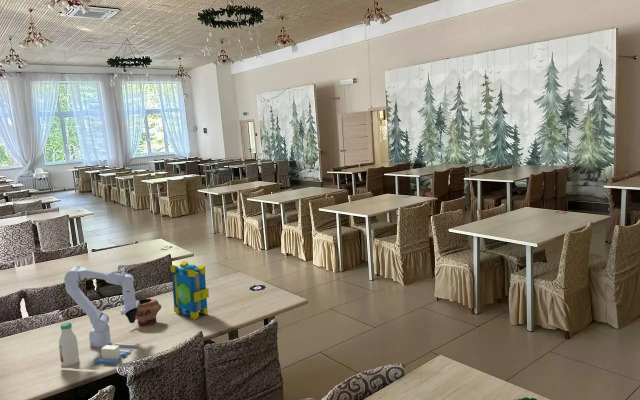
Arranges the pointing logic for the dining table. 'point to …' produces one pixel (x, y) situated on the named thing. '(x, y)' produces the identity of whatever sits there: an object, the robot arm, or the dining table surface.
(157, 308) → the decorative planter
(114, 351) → the tall cream block
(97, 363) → the board
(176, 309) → the decorative book
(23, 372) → the dining table surface
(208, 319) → the dining table surface
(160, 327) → the dining table surface
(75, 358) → the milk bottle
